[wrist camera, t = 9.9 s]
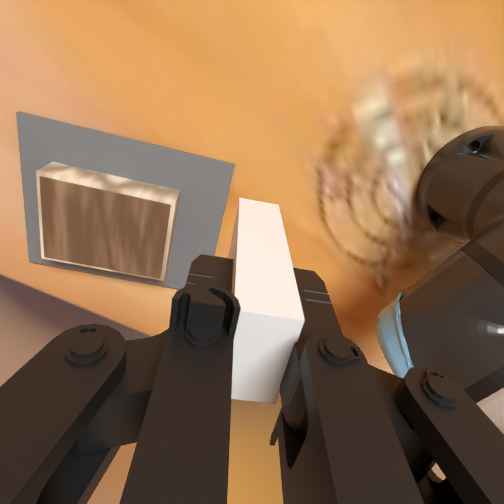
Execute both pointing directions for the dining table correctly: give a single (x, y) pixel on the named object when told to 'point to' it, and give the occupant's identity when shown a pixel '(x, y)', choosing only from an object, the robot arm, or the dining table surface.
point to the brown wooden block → (105, 221)
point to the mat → (135, 168)
